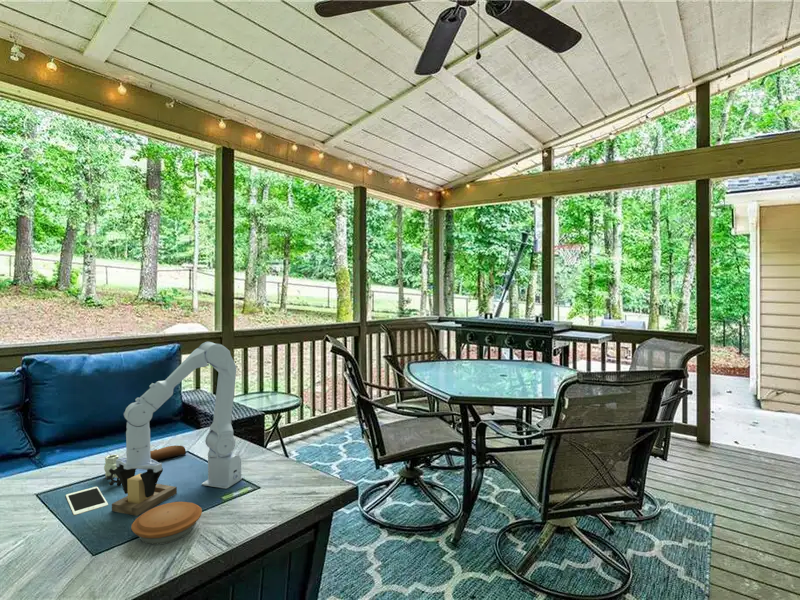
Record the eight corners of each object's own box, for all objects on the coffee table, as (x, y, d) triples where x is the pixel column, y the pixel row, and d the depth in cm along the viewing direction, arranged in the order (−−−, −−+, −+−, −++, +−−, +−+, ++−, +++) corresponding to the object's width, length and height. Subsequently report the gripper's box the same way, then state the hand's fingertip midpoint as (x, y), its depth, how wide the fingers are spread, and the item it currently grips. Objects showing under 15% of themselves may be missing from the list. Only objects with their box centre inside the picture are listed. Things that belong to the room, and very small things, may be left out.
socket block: (176, 493, 126) (176, 486, 126) (137, 515, 113) (137, 508, 113) (153, 489, 128) (152, 483, 128) (111, 511, 116) (111, 503, 116)
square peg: (151, 502, 120) (151, 475, 120) (139, 509, 116) (138, 480, 116) (140, 500, 121) (140, 473, 121) (127, 507, 117) (127, 479, 117)
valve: (98, 477, 137) (106, 489, 129) (98, 457, 137) (106, 468, 129) (122, 471, 142) (131, 482, 133) (122, 452, 142) (131, 461, 133)
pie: (143, 559, 95) (142, 537, 95) (123, 533, 105) (123, 513, 105) (212, 530, 106) (212, 510, 106) (188, 509, 117) (188, 491, 116)
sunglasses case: (179, 449, 162) (182, 436, 159) (184, 463, 157) (187, 450, 155) (124, 461, 150) (125, 448, 147) (127, 477, 145) (129, 463, 143)
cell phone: (73, 517, 114) (73, 514, 114) (65, 496, 125) (65, 494, 125) (108, 506, 119) (108, 504, 119) (97, 488, 130) (97, 486, 130)
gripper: (105, 448, 117) (106, 497, 117) (146, 453, 113) (146, 504, 113) (128, 439, 124) (129, 485, 124) (167, 444, 119) (168, 492, 119)
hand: (139, 494), depth 119 cm, fingers open, 7 cm apart
